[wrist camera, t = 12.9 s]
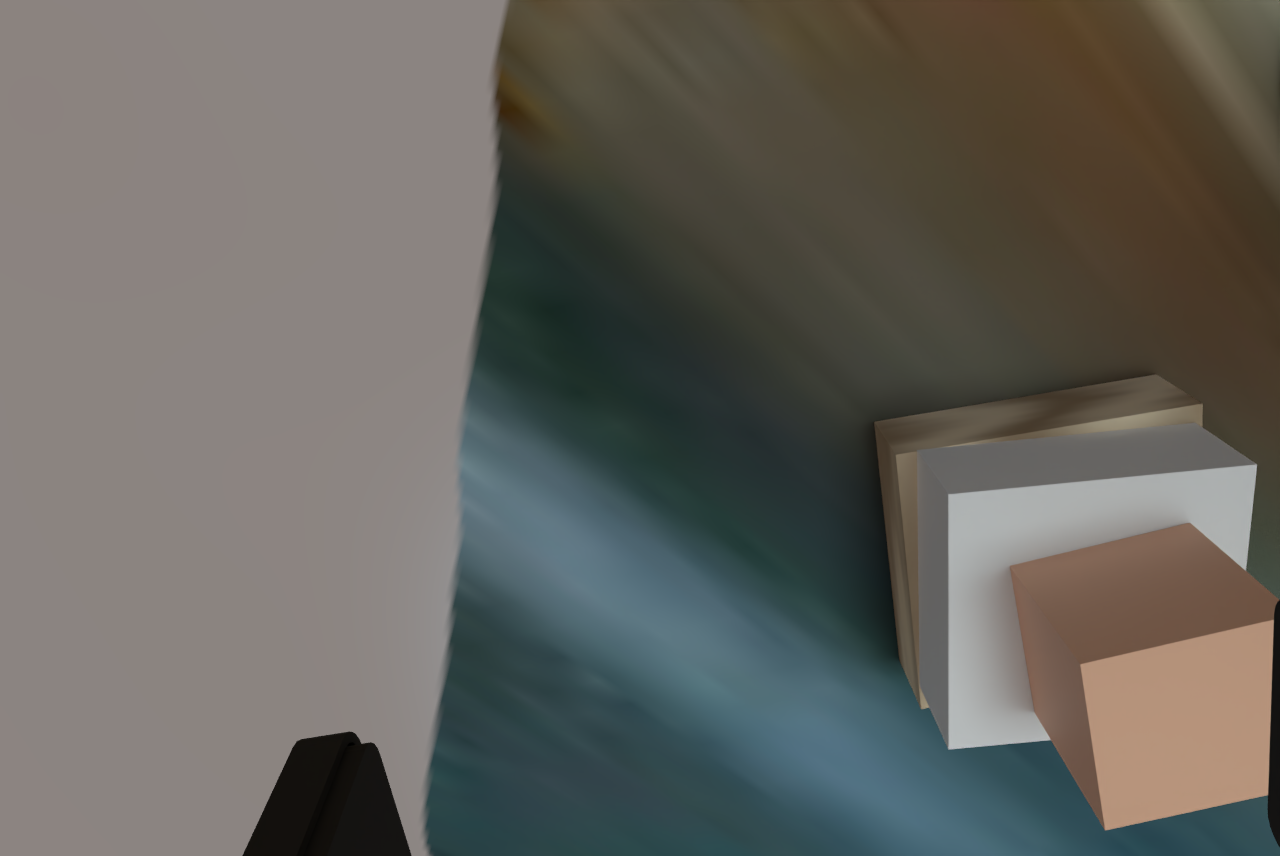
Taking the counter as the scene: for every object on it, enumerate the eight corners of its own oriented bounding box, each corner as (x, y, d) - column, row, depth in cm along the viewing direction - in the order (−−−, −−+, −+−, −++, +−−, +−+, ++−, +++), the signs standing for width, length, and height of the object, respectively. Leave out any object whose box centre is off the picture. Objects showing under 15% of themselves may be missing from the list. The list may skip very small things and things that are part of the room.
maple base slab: (1150, 370, 42) (1202, 403, 38) (1153, 613, 46) (1200, 665, 42) (871, 417, 43) (895, 454, 39) (896, 654, 46) (921, 709, 43)
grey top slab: (1195, 422, 39) (1256, 464, 35) (1175, 661, 42) (1229, 723, 38) (917, 449, 39) (948, 494, 35) (919, 686, 42) (948, 749, 38)
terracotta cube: (1190, 522, 35) (1296, 614, 30) (1205, 673, 37) (1308, 786, 32) (1009, 566, 36) (1080, 664, 30) (1034, 712, 38) (1105, 830, 32)
